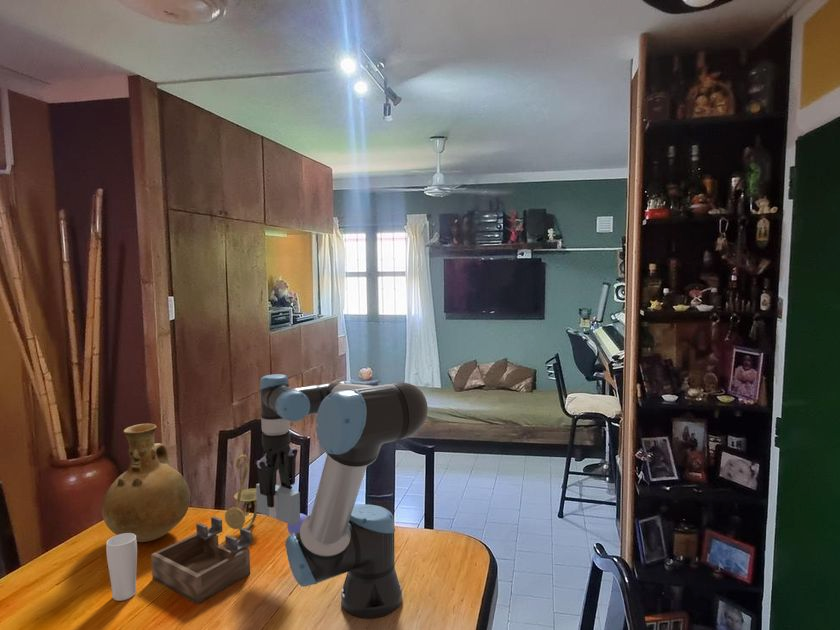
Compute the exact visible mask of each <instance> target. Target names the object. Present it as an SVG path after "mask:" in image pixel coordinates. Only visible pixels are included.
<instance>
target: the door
mask: <svg viewBox="0 0 840 630" xmlns="http://www.w3.org/2000/svg"><path fill="white" fill-rule="evenodd" d="M255 488H256V498H257V514H261V515H263V516H266V517H269V507H268V506H267V496H265V495H262V494H260V487H259V483H256V485H255ZM300 493H301V492H300V491H297V490H294V489H288V488H285V487H282V486H281V485H279V484H276V487H275V494H276V495H277V499H278V518H277V519H275V518H273V519H275V520H277V521H280V522H283V523H286V524H287V525H288V524H291V525H293V524H295V523H297V522H299V521H300V513H301V504H300V503H301V499H300V498H301V497H300V496H301V495H300Z"/></svg>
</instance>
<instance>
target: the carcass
mask: <svg viewBox="0 0 840 630" xmlns="http://www.w3.org/2000/svg"><path fill="white" fill-rule="evenodd" d="M210 524H211V525H210V527H209V528H208V526H207V525H206V524H203V523H200V522H197V523H196V525H195V526H196V533H194V534H192V535H189V536H187V537H186V538H183V539H181V540H179V541H177V542H175V543H172V544H170V545H168V546H166V547H163V548H162V549H160V550H157V551H155V552H153V553H151V555H150V557H151V575H152V578H151V579H152V580H153V581H156V582H157V583H159V584H161V585H162V586H164V587H166V588H168V589H170V590H171V591H174V592H175V593H177V594H179V595H180V596H182V597H184V598H186V599H187V600H189V601H191V602H193V603H195V604H197V605H199V604H202V603H203V602H205V601H206V600H209V598H212V597H213V596H215V595H216V594H218V593H220V592H222V591H223V590H225V589H227V588H228V587H230V586H232V585H234V584H235V583H237V582H239V581H241V580H242V579H244V578H245V577H247V576H249V575H250V574H251V556H250V555H251V554H250V548H248V547H249V546H251V545H253V531H252V530H249V529H248V530H247V529H244V528H245V527H242V528H241V529H240V530H239V533H240V534H239V536H240V538H239V539H238V538H236V537H233V536H232V535H230V534H226V535H225V536H224V538H225V546H223V545H221V544H219V534H221V533H223V519H222V518H218V517H217V516H211V517H210Z"/></svg>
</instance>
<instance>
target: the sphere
mask: <svg viewBox="0 0 840 630" xmlns="http://www.w3.org/2000/svg"><path fill="white" fill-rule="evenodd" d="M307 517H308V516H307V515H306V514H304V513H301V512H300V521H299V522H297V523H295V524H293V525H291V524H288V523H287V525H286V527H287V531H288V533H289V535H292V534H293V533H295V534H297V533H299V531H300V528H301V525H302V523H303V521H304V520H305V519H306V518H307Z"/></svg>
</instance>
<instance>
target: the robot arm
mask: <svg viewBox="0 0 840 630" xmlns="http://www.w3.org/2000/svg"><path fill="white" fill-rule="evenodd" d="M259 381H260V382H259V383H260V384H259V392H260V393H259V395H260V396H259V397H260V414H261V416H260V417H261V420H260V421H261V431H262V433H261V445H262V448H263V453H262V457H261V458H260V459H259V460H255V461H254V465H255V467H256V469H257V477H258V484H259V487H260V494H262V495H265V496H267V506H268V507H269V516H268V517H269V518H272V519H274V518H275V520H277V518H278V499H277V495H276V494H275V487H276V485H277V474H279V475H278V476H279V481H280V486H282V487H285V488H288V489H291V490H293V485H295V483H296V465H297V464H296V463H297V461H296V459H297V455H298V450H299V449H297V448H293V447H291V446H290V445H291V442H292V441H291V431H290V430H291V422H300V421H302V420H303V419H305V418H306V417H307V416H311V415H316V419H315V421H316V424H317V426H316V436H317V439H318V442H319V444H320V447H321V448H322V449H323V451H324V452H325V454H326V458H325V461H324V465H323V468H322V473H321V476H320V478H319V483H318V488H317V491H316V495H315V498H314V499H315V500H314V502H313V506H312V509H311V513H310V515H308V516H307V518H306V519H305V520H304V521H303V523H302V525H301V528H300V531H299V533H297V534H295V533H293V534H292V535H291V534H289V535H288V536H287V538H286V540H285V542H286V543H285V549H286V550H285V551H286V556H287V560H288V563H289V568H290V571H291V574H292V575H293V578H294V580H295V582H296V583H297V584H298V585H299V586H300V587H304V588H306V587H310V586H312V585H317V584H319V583H321V582H324V581H327V580H329V579H332V578H335V577H338V576H340V575H343V574H346V577H345V579H344V583H343V586H342V589H341V598H340V599H341V606H342V608H343V610H345V612H347V613H348V614H349V615H352V616H354V617H357V618H363V619H376V618H381V617H384V616H387V615H389V614H391V613H393V612H394V611H396V610H397V609H398V608H399V607H400V605H401V603H402V600H403V590H402V585H401V582H400V581H399V578H398V574H397V571H396V568H395V567H396V566H395V565H396V564H395V558H396V557H395V555H396V554H395V532H396V528H395V527H396V526H395V520H394V519H395V518H394V515H393V513H392V512H391V511H390V509H389V510H388V509H387V508H385V507H383V506H381V505H376V504H368V503H367V504H365V503H364V504H357V505H356V501H357V498H358V495H359V492H360V488H361V486H362V482H363V479H364V476H365V473H366V470H367V467H368V466H370V465H371V464H373V463H374V462H375V461H376V460H378V459H377V458H378V456H379V454H380V451H381V448H382V446H383V445H384V444H387V443H388V444H389V443H393V442H396V441H400V440H404V439H407V438H409V437H412V436H414V435H415V434H416V433H417V432H419V430H420V429H421V428H422V427H423V425H424V424H425V422H426V420H427V416H428V412H429V411H428V410H429V409H428V402H427V398H426V396H425V394H424V393H423V392H422V390H421V389H419V388H418V387H417V386H415V385H413V384H411V383H407V382H400V381H399V382H390V383H389V382H388V383H384V384H378V385H367V384H358V383H353V382H352V381H350V380H339V381H338V380H337V381H334V382H328V383H322V384H314V385H305V386H300V387H299V386H298V387H297V386H296V387H290V382H289V377H288V376H287V375H286V374H283V373H282V374H281V373H280V374H279V373H274V374H266V375H264V376H262V377H261V378H260V380H259ZM277 472H278V473H277Z"/></svg>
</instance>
